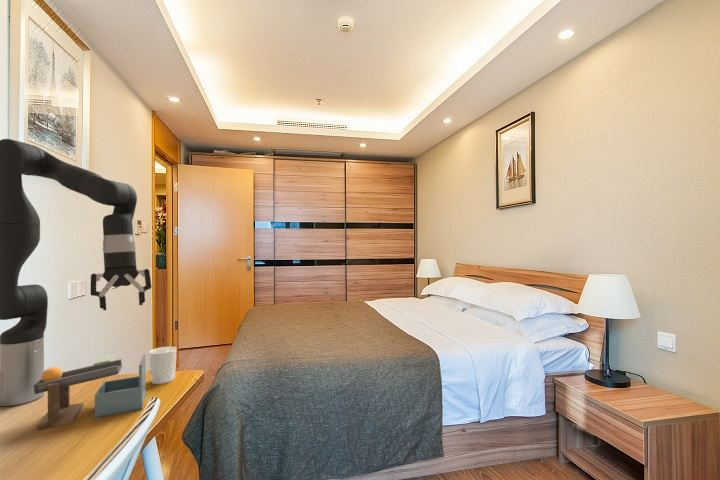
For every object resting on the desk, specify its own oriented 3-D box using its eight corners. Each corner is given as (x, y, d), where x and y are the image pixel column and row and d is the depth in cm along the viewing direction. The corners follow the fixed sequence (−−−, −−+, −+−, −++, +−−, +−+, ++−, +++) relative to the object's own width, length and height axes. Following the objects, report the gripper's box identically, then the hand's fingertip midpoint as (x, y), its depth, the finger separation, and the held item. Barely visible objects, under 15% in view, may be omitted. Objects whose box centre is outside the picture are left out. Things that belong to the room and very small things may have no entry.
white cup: (164, 385, 109) (164, 354, 109) (143, 384, 110) (143, 353, 110) (182, 376, 116) (181, 346, 116) (162, 375, 118) (161, 345, 118)
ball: (39, 388, 86) (37, 372, 85) (45, 382, 89) (43, 367, 89) (60, 383, 87) (58, 368, 87) (65, 378, 91) (63, 363, 91)
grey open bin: (95, 418, 88) (94, 371, 88) (103, 403, 97) (103, 360, 97) (141, 409, 93) (141, 364, 93) (145, 395, 102) (145, 354, 102)
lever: (34, 394, 84) (33, 383, 84) (53, 376, 96) (52, 366, 96) (118, 374, 92) (116, 364, 92) (125, 359, 104) (124, 351, 104)
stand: (36, 430, 83) (36, 387, 83) (50, 412, 92) (50, 374, 92) (73, 423, 86) (73, 382, 86) (83, 406, 95) (83, 369, 95)
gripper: (147, 249, 106) (150, 302, 106) (88, 253, 97) (92, 310, 97) (149, 249, 100) (153, 304, 100) (87, 252, 91) (91, 313, 91)
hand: (123, 307), depth 98 cm, fingers open, 8 cm apart
